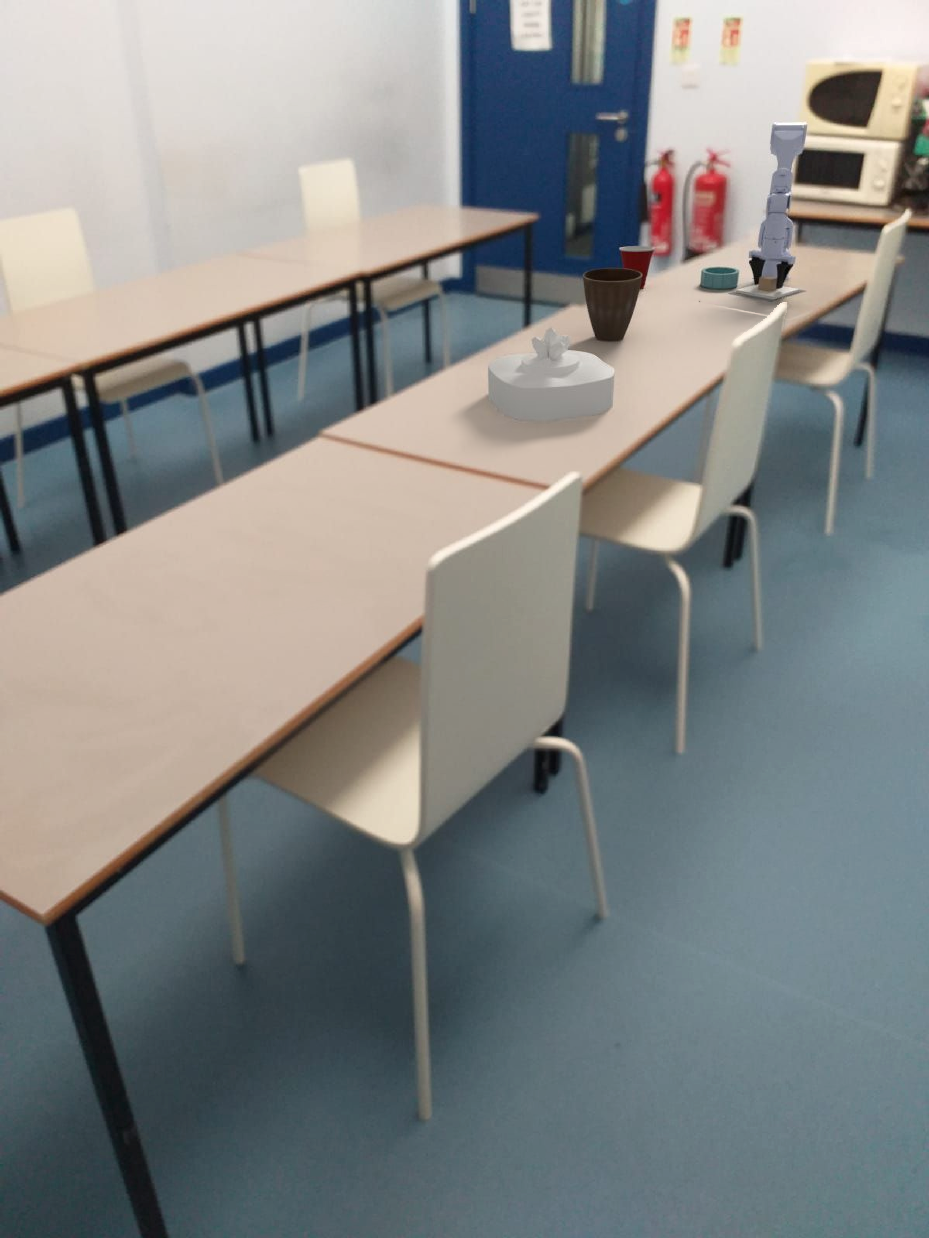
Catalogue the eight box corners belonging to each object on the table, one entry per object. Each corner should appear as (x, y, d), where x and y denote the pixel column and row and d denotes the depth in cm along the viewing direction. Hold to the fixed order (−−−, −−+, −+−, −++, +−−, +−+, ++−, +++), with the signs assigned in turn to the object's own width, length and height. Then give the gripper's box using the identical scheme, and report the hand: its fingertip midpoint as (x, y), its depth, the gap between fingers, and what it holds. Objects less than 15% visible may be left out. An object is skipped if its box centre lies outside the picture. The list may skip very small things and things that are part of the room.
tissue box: (625, 412, 205) (630, 335, 197) (514, 427, 200) (513, 349, 191) (581, 378, 226) (583, 307, 217) (478, 391, 220) (477, 319, 212)
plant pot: (644, 344, 247) (648, 279, 239) (586, 347, 247) (588, 282, 238) (631, 328, 260) (635, 266, 252) (576, 331, 260) (578, 269, 251)
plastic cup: (651, 283, 305) (654, 243, 299) (653, 291, 296) (656, 249, 290) (616, 283, 306) (618, 243, 300) (617, 291, 297) (619, 250, 291)
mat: (763, 285, 298) (763, 283, 298) (806, 292, 288) (806, 291, 288) (727, 295, 289) (727, 293, 288) (770, 303, 279) (771, 301, 278)
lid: (761, 285, 296) (763, 270, 294) (798, 291, 288) (801, 276, 285) (735, 292, 289) (737, 277, 287) (773, 299, 280) (775, 284, 278)
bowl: (715, 282, 305) (716, 265, 302) (744, 287, 297) (746, 270, 295) (693, 288, 299) (694, 271, 296) (722, 293, 291) (724, 276, 289)
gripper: (744, 237, 283) (739, 285, 290) (788, 243, 273) (781, 292, 280) (759, 233, 287) (753, 281, 294) (802, 239, 277) (795, 288, 284)
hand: (768, 286), depth 287 cm, fingers open, 7 cm apart
